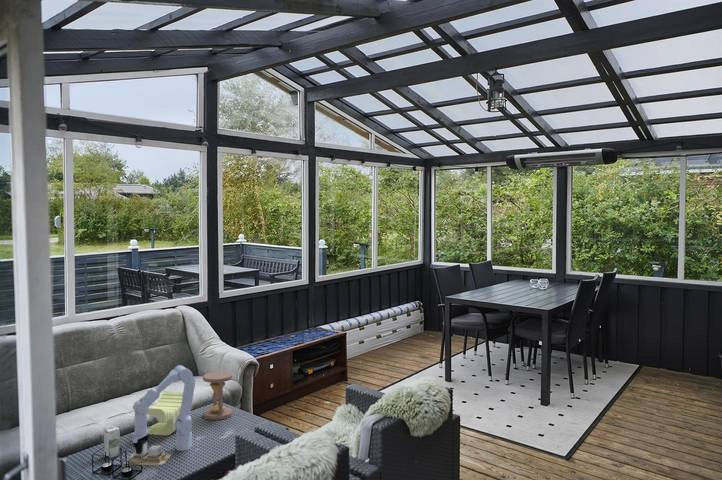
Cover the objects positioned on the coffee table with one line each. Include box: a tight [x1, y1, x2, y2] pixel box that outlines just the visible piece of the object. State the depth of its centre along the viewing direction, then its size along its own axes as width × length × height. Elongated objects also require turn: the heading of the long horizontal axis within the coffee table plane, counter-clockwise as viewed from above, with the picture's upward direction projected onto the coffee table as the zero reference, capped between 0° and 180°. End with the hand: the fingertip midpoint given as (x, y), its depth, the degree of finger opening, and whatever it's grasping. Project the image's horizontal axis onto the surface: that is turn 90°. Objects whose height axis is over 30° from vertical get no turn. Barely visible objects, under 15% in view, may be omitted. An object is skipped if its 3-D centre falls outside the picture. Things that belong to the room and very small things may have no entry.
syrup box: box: [103, 425, 121, 460], centre depth 284 cm, size 6×6×14 cm
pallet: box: [122, 451, 173, 466], centre depth 278 cm, size 13×20×3 cm, turn 88°
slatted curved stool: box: [147, 390, 183, 436], centre depth 318 cm, size 30×16×18 cm, turn 173°
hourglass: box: [202, 371, 233, 421], centre depth 343 cm, size 18×18×25 cm
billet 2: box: [147, 445, 162, 458], centre depth 278 cm, size 4×4×6 cm
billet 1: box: [134, 441, 148, 457], centre depth 278 cm, size 4×4×6 cm
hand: (141, 451), depth 278 cm, fingers closed on billet 1, 4 cm apart
